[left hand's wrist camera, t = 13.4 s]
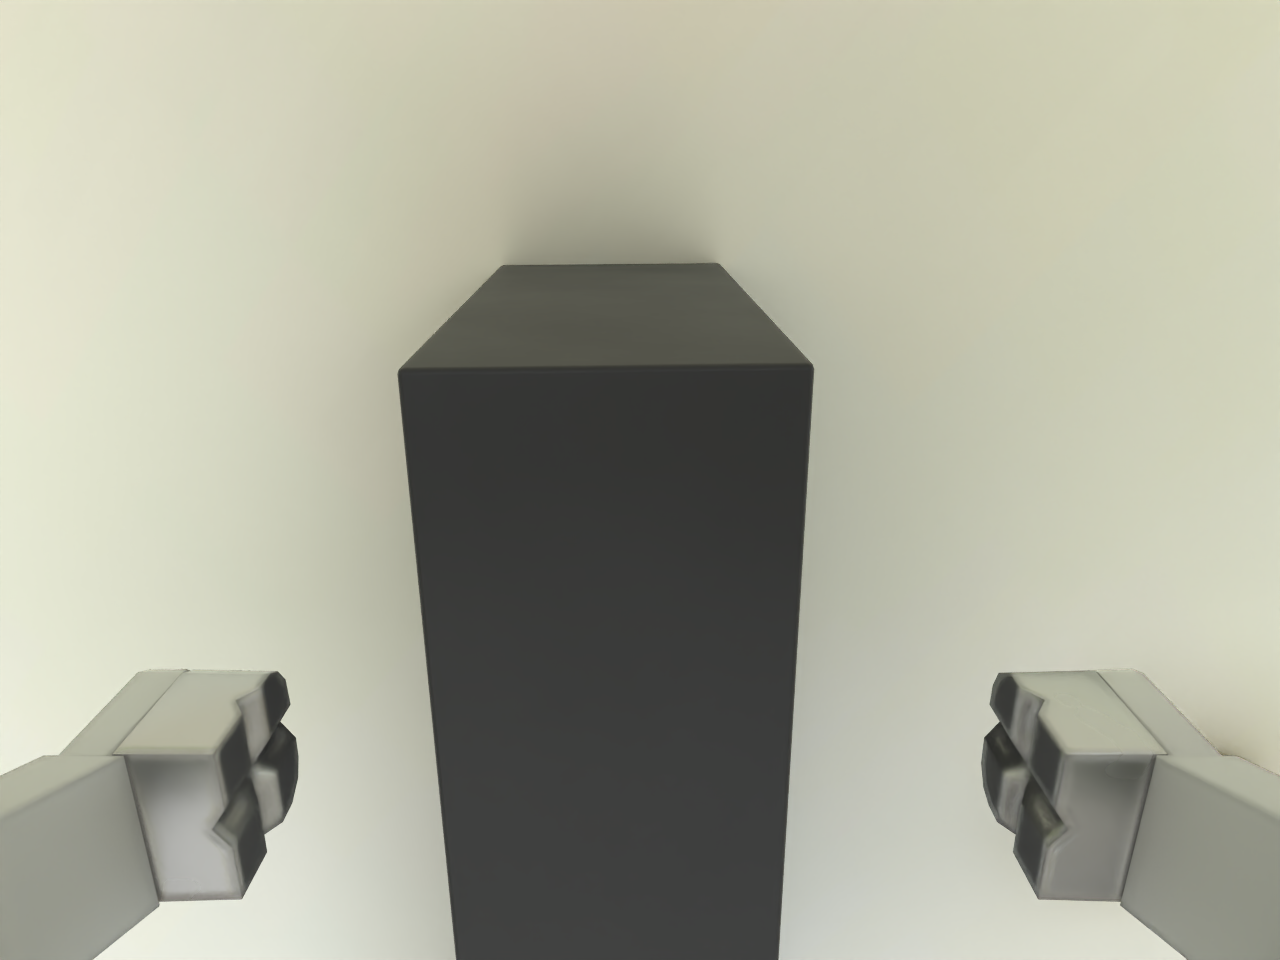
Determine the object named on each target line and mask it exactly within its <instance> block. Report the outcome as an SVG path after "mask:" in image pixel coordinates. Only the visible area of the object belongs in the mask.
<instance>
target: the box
mask: <svg viewBox="0 0 1280 960" xmlns="http://www.w3.org/2000/svg"><path fill="white" fill-rule="evenodd" d="M813 379H814V367H813V365H812V363H811V362H810V361H809V360H808V359H807V358H806V357H805V356H804V355H803V354H802V353H801V352H800V350H799V349H798V348H797V347H796V346H795V345H794V344H793V343H792V342H791V341H790V340H789V339H788V338H787V336H786V335H785V334H784V333H783V332H782V331H781V330H780V329H779V328H778V327H777V326H776V325H775V324H774V322H773V321H772V320H771V319H770V318H769V317H768V316H767V315H766V314H765V313H764V312H763V311H762V309H761V308H760V307H759V306H758V305H757V304H756V303H755V302H754V301H753V300H752V299H751V298H750V297H749V295H748V294H747V293H746V292H745V291H744V290H743V289H742V288H741V287H740V286H739V285H738V284H737V283H736V281H735V280H734V279H733V278H732V277H731V276H730V275H729V274H728V273H727V272H726V271H725V270H724V268H723V267H722V266H721V265H720V264H717V263H707V264H604V265H503V266H501V267H500V268H499V269H498V270H497V271H496V272H495V273H494V274H493V275H492V276H491V277H490V278H489V279H488V280H487V281H486V282H485V283H484V284H483V285H482V286H481V287H480V288H479V289H478V290H477V291H476V292H475V293H474V294H473V295H472V296H471V297H470V298H469V299H468V300H467V301H466V302H465V303H464V304H463V305H462V306H461V307H460V308H459V309H458V310H457V311H456V312H455V313H454V314H453V315H452V316H451V317H450V318H449V319H448V320H447V322H446V323H445V324H444V325H443V326H442V327H441V328H440V329H439V330H438V331H437V332H436V333H435V334H434V335H433V336H432V337H431V338H430V339H429V340H428V341H427V342H426V343H425V344H424V345H423V346H422V347H421V348H420V349H419V350H418V351H417V352H416V353H415V354H414V355H413V356H412V357H411V358H410V359H409V360H408V361H407V362H406V363H405V364H404V365H403V366H402V367H401V368H400V369H399V371H398V383H399V393H400V403H401V413H402V423H403V433H404V443H405V453H406V463H407V473H408V483H409V493H410V503H411V513H412V523H413V533H414V543H415V553H416V563H417V573H418V583H419V593H420V603H421V613H422V623H423V633H424V643H425V653H426V663H427V673H428V683H429V693H430V703H431V713H432V723H433V733H434V743H435V753H436V763H437V773H438V783H439V793H440V803H441V813H442V823H443V833H444V843H445V853H446V863H447V873H448V883H449V893H450V903H451V913H452V923H453V933H454V943H455V953H456V960H778V957H779V941H780V924H781V908H782V891H783V875H784V858H785V842H786V825H787V808H788V792H789V775H790V759H791V742H792V726H793V709H794V693H795V676H796V660H797V643H798V627H799V610H800V593H801V577H802V560H803V544H804V527H805V511H806V494H807V478H808V461H809V445H810V428H811V412H812V395H813Z"/></svg>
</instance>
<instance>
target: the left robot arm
mask: <svg viewBox="0 0 1280 960" xmlns="http://www.w3.org/2000/svg"><path fill="white" fill-rule="evenodd" d="M289 706H290V700H289V695H288V690H287V685H286V680H285V679H284V678H283V676H282V675H281V674H280V673H279V672H278V671H233V670H191V671H190V670H187V669H161V670H146V671H142V672H138V673H137V674H136V675H135V676H134V677H133V678H132V679H131V680H130V681H129V682H128V683H127V684H126V685H125V686H124V687H123V688H122V689H121V691H120V692H119V693H118V694H117V695H116V696H115V697H114V698H113V699H112V700H111V701H110V702H109V703H108V704H107V705H106V706H105V707H104V708H103V709H102V710H101V711H100V712H99V714H98V715H97V716H96V717H95V718H94V719H93V720H92V721H91V722H90V723H89V724H88V725H87V726H86V727H85V728H84V729H83V730H82V731H81V732H80V733H79V734H78V735H77V737H76V738H75V739H74V740H73V741H72V742H71V743H70V744H69V745H68V746H67V747H66V748H65V749H64V750H63V751H62V752H61V753H60V754H59V755H58V756H42V757H40V758H37V759H35V760H33V761H31V762H29V763H27V764H25V765H22V766H20V767H18V768H16V769H14V770H12V771H10V772H7V773H5V774H3V775H1V776H0V960H93V959H94V958H95V957H97V956H98V955H99V954H100V953H101V952H103V951H104V950H105V949H106V948H108V947H109V946H110V945H111V944H113V943H114V942H115V941H116V940H118V939H119V938H120V937H121V936H123V935H124V934H125V933H126V932H128V931H129V930H130V929H131V928H133V927H134V926H135V925H136V924H138V923H139V922H140V921H141V920H142V919H144V918H145V917H146V916H147V915H149V914H150V913H151V912H152V911H154V910H155V909H156V908H157V907H159V902H162V901H197V900H232V899H242V898H243V896H244V894H245V892H246V890H247V889H248V887H249V885H250V883H251V881H252V879H253V877H254V875H255V874H256V872H257V870H258V868H259V866H260V864H261V862H262V860H263V858H264V857H265V855H266V853H267V849H266V843H265V837H264V834H266V833H267V832H269V831H270V830H272V829H273V828H274V827H276V826H277V825H279V824H280V823H282V822H283V820H284V818H285V816H286V814H287V812H288V810H289V808H290V806H291V804H292V802H293V797H294V793H295V788H296V784H297V780H298V750H297V743H296V737H295V736H294V735H293V734H292V733H291V732H290V731H289V730H288V729H287V728H286V727H285V726H284V725H283V724H282V723H281V722H280V721H281V719H282V717H283V716H284V714H285V712H286V711H287V709H288V708H289ZM990 706H991V707H992V709H993V711H994V712H995V714H996V716H997V717H998V719H999V721H1000V722H999V723H998V724H997V725H996V726H995V727H994V728H993V729H992V730H991V731H990V732H989V733H988V734H987V735H986V736H985V737H984V745H983V753H982V761H981V765H982V776H983V787H984V790H985V794H986V797H987V800H988V804H989V806H990V808H991V810H992V812H993V814H994V816H995V818H996V820H997V822H998V823H1000V824H1001V825H1003V826H1004V827H1006V828H1007V829H1008V830H1010V831H1011V832H1013V833H1014V834H1016V837H1015V843H1014V849H1013V853H1014V855H1015V857H1016V858H1017V860H1018V862H1019V864H1020V866H1021V868H1022V870H1023V872H1024V873H1025V875H1026V877H1027V879H1028V881H1029V883H1030V885H1031V886H1032V888H1033V890H1034V892H1035V894H1036V896H1037V898H1038V899H1046V900H1082V901H1118V902H1121V904H1120V905H1121V906H1122V907H1123V908H1124V909H1125V910H1127V911H1128V912H1129V913H1130V914H1132V915H1133V916H1134V917H1135V918H1137V919H1138V920H1139V921H1140V922H1142V923H1143V924H1144V925H1145V926H1147V927H1148V928H1149V929H1150V930H1152V931H1153V932H1154V933H1155V934H1157V935H1158V936H1159V937H1160V938H1161V939H1163V940H1164V941H1165V942H1166V943H1168V944H1169V945H1170V946H1171V947H1173V948H1174V949H1175V950H1176V951H1178V952H1179V953H1180V954H1181V955H1183V956H1184V957H1185V958H1186V959H1188V960H1280V776H1279V775H1277V774H1275V773H1273V772H1270V771H1268V770H1266V769H1264V768H1262V767H1260V766H1258V765H1255V764H1253V763H1251V762H1249V761H1247V760H1245V759H1243V758H1240V757H1238V756H1222V755H1221V754H1220V753H1219V752H1218V751H1217V750H1216V749H1215V748H1214V747H1213V746H1212V745H1211V744H1210V743H1209V742H1208V741H1207V740H1206V739H1205V737H1204V736H1203V735H1202V734H1201V733H1200V732H1199V731H1198V730H1197V729H1196V728H1195V727H1194V726H1193V725H1192V724H1191V723H1190V722H1189V721H1188V720H1187V719H1186V718H1185V717H1184V715H1183V714H1182V713H1181V712H1180V711H1179V710H1178V709H1177V708H1176V707H1175V706H1174V705H1173V704H1172V703H1171V702H1170V701H1169V700H1168V699H1167V698H1166V697H1165V696H1164V695H1163V693H1162V692H1161V691H1160V690H1159V689H1158V688H1157V687H1156V686H1155V685H1154V684H1153V683H1152V682H1151V681H1150V680H1149V679H1148V678H1147V677H1146V676H1145V675H1144V674H1143V673H1141V672H1138V671H1136V670H1134V669H1112V670H1088V671H1056V672H1016V673H999V674H998V676H997V678H996V680H995V682H994V684H993V688H992V694H991V700H990Z"/></svg>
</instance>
